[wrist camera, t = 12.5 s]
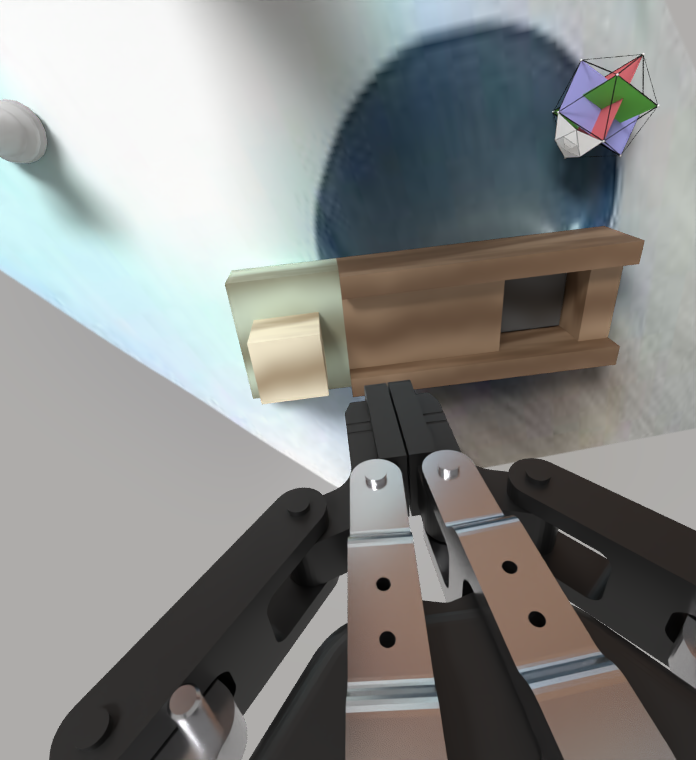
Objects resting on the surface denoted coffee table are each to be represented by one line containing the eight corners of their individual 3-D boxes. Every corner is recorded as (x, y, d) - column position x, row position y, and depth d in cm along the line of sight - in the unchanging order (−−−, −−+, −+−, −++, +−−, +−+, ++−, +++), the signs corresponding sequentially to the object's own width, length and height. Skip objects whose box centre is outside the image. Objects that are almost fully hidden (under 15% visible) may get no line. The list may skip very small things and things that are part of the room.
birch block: (253, 320, 41) (246, 343, 37) (318, 311, 41) (319, 334, 37) (266, 376, 44) (261, 404, 40) (327, 368, 44) (328, 395, 40)
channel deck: (231, 270, 42) (220, 291, 37) (604, 226, 43) (644, 240, 38) (257, 378, 48) (250, 409, 43) (583, 338, 49) (615, 364, 44)
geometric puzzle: (609, 9, 33) (614, 72, 29) (672, 62, 35) (685, 126, 31) (534, 95, 39) (531, 155, 35) (592, 135, 41) (595, 196, 37)
